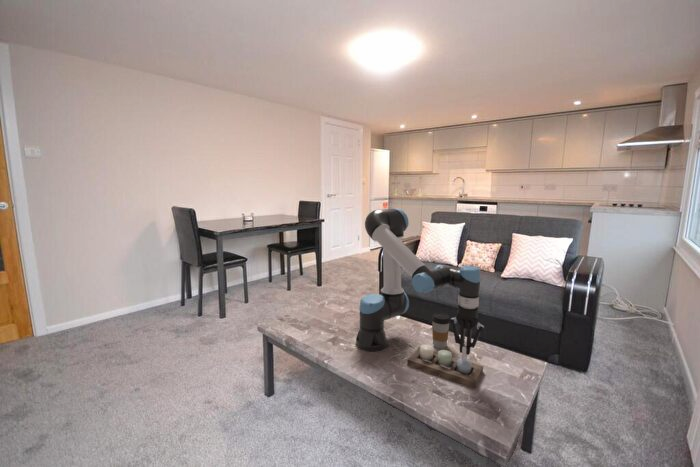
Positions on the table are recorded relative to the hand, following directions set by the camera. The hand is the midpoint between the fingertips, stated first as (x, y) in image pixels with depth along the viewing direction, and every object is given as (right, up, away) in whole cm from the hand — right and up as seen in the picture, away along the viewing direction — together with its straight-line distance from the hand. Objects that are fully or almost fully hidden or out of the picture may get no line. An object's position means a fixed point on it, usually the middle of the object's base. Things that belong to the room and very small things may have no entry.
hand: (464, 360), depth 130 cm
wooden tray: (-7, -5, +5) cm, 10 cm away
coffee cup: (-3, -2, +24) cm, 25 cm away
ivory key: (-13, -2, +9) cm, 16 cm away
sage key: (-7, -3, +5) cm, 9 cm away
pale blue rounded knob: (0, -4, +1) cm, 4 cm away
